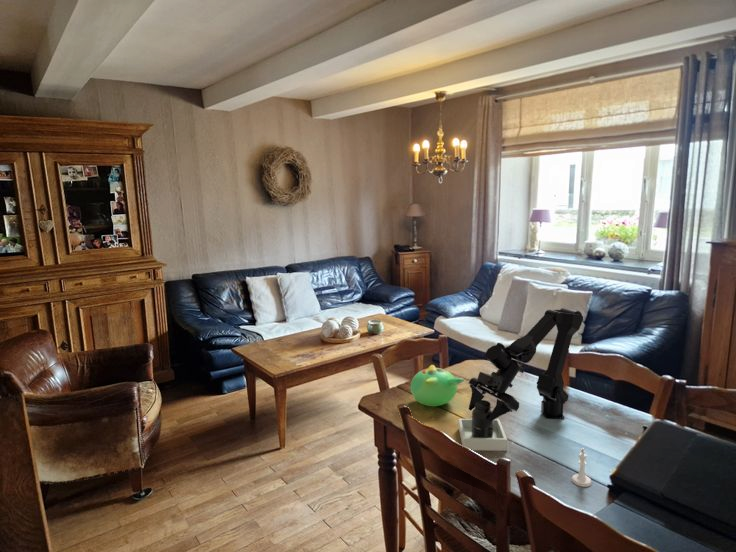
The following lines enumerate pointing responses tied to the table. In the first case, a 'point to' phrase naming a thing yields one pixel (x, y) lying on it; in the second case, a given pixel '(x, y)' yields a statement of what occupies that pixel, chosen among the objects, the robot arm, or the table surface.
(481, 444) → the tray
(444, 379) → the toy bird
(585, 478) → the chess piece
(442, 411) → the table surface
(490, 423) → the supplement bottle
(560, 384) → the robot arm
